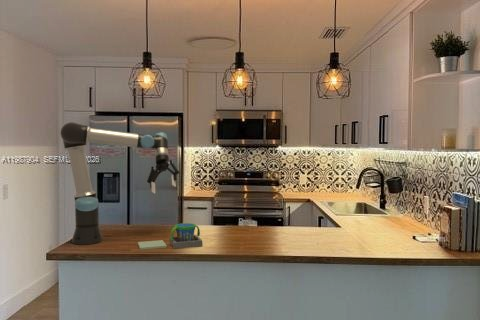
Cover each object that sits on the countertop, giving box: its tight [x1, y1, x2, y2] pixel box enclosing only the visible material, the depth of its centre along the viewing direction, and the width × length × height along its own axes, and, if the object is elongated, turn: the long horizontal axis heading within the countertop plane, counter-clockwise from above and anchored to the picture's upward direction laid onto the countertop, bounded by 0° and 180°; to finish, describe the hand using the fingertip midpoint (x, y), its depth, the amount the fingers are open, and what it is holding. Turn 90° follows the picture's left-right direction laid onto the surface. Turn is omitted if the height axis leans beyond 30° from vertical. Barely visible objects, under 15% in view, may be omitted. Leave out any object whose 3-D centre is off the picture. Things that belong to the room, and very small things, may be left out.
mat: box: [137, 239, 167, 251], centre depth 211 cm, size 13×13×1 cm
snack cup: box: [170, 222, 201, 242], centre depth 214 cm, size 16×10×10 cm
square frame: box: [169, 234, 203, 250], centre depth 214 cm, size 14×14×3 cm
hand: (163, 189), depth 230 cm, fingers open, 13 cm apart
